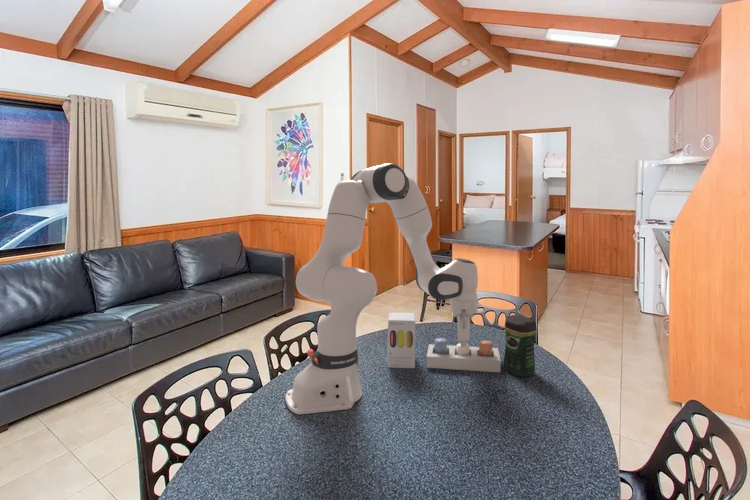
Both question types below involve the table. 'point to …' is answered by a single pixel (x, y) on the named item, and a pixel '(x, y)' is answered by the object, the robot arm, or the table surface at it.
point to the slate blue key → (440, 346)
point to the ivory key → (463, 350)
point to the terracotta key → (485, 348)
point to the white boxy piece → (463, 360)
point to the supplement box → (401, 340)
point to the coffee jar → (519, 346)
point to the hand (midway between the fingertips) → (463, 345)
